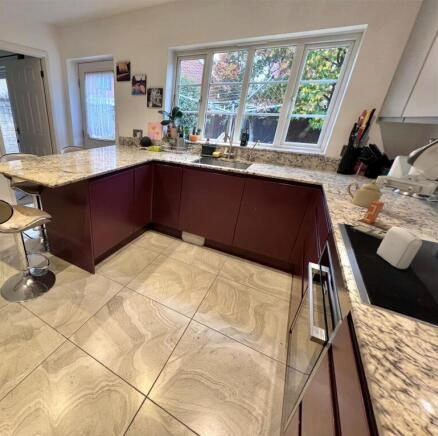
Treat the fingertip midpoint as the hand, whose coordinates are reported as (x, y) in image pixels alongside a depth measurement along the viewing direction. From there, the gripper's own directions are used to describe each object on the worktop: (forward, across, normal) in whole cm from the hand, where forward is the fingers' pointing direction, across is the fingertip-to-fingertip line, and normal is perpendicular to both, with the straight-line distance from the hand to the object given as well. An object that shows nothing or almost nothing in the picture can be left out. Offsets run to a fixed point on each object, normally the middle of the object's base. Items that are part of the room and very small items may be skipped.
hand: (397, 185), depth 109 cm
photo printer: (+43, +20, +18) cm, 51 cm away
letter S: (+12, 0, +17) cm, 21 cm away
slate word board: (+24, +9, +18) cm, 31 cm away
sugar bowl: (-18, -17, +18) cm, 30 cm away
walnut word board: (+12, +6, +18) cm, 22 cm away
